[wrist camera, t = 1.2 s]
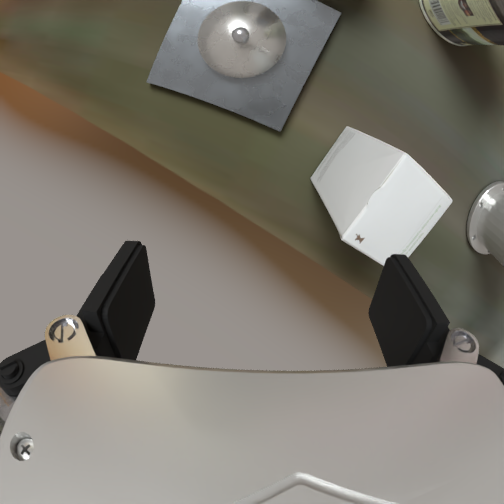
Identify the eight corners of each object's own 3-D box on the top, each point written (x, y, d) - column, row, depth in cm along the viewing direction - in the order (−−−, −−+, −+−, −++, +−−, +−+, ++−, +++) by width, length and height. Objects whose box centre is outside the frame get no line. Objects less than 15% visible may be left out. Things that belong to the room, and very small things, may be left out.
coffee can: (488, 23, 20) (559, 23, 8) (457, 60, 25) (534, 67, 13) (439, -34, 17) (504, -58, 5) (403, -1, 22) (471, -26, 10)
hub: (339, 14, 24) (350, 6, 20) (279, 130, 32) (282, 137, 28) (205, -35, 21) (198, -49, 17) (149, 82, 29) (134, 82, 25)
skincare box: (347, 205, 36) (393, 279, 23) (305, 176, 35) (335, 242, 21) (386, 153, 33) (457, 203, 19) (345, 120, 31) (406, 151, 18)
